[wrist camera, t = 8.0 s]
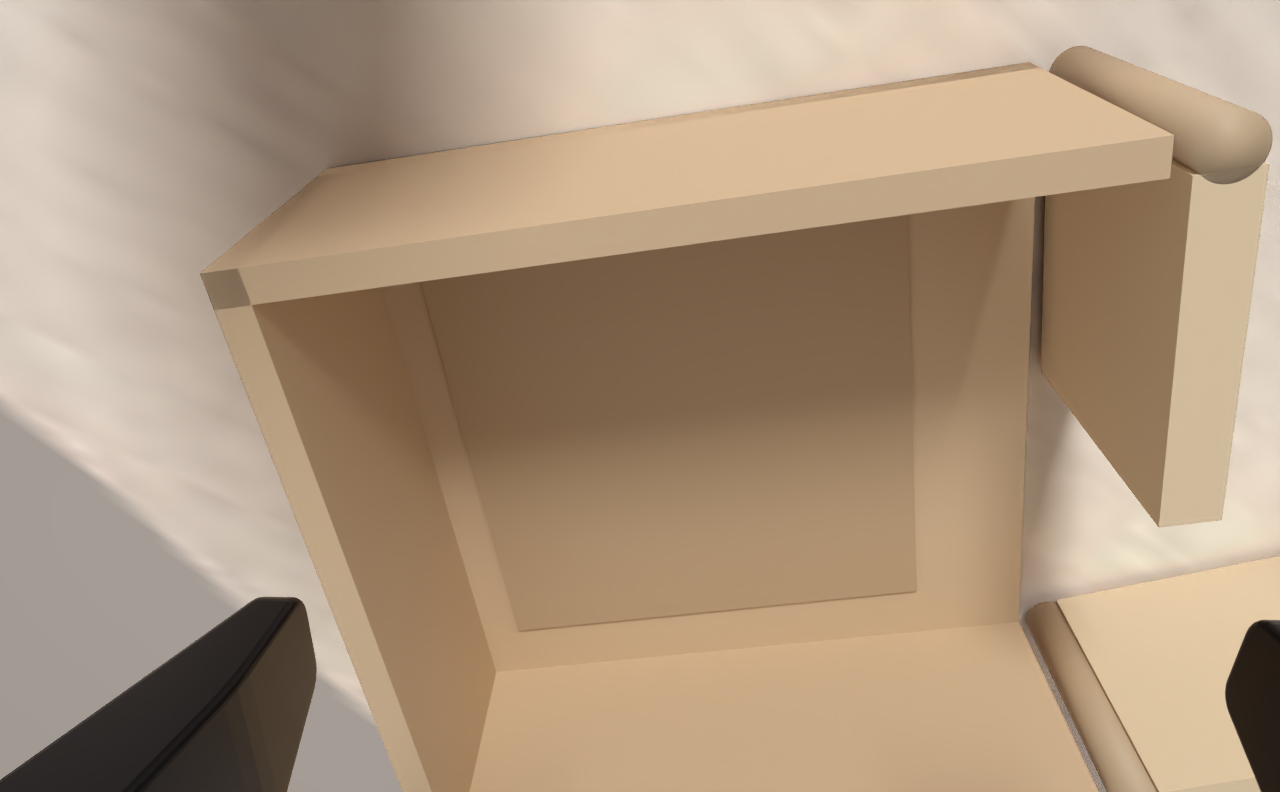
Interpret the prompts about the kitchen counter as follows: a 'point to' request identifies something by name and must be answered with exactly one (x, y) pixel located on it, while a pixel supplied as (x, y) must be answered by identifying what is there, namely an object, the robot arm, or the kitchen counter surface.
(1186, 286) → the flap near
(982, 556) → the carton
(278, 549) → the kitchen counter surface
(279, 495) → the kitchen counter surface
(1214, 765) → the flap far
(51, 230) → the kitchen counter surface
